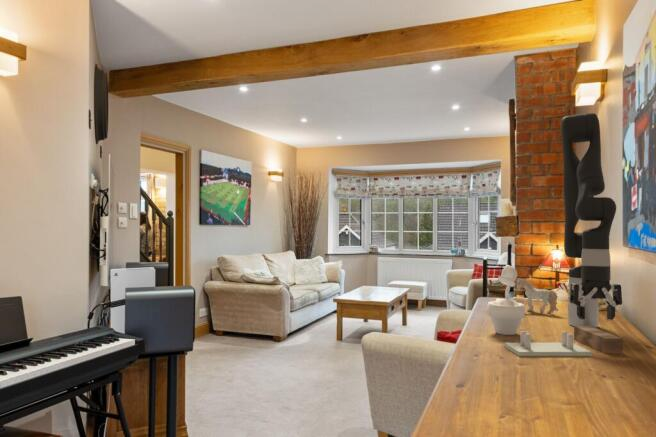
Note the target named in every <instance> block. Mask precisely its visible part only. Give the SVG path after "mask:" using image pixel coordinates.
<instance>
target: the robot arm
mask: <svg viewBox="0 0 656 437" xmlns="http://www.w3.org/2000/svg"><path fill="white" fill-rule="evenodd" d="M560 136H561V147H562V157H563V158H562V159H563V183H562V185H563V186H562V187H563V203H564V232H563V233H564V237H563V238H564V239H563V240H564V241H563V242H564V243H563V249H564V254H565V256H566V257H567V258H571V259H580V260H581V261H580V263H581V265H579V266H574V267H571V268H569V270H568V297H567V298H568V299H567V300H568V301H567V302H568V304H567V306H568V307H567V308H568V312H567V314H568V316H567V320H568V325H569V326H572V327H574V326H592V327H594V328H597V329H598V328H599V300H603V301H604V302H605V303H606V318H607V320H612V321H613V320H614V319H615V318H616V307H617V306H619V305H620V306H621V305H622V304H623V297H622V296H623V294H622V285H621V284H617V283H612V284H611V283H610V282H611V254H610V253H611V252H610V235H611V234H610V233H611V229H612V226H613V221H614V219H615V216H616V212H617V204H616V202H615V199H613V198H611V197H606V196H604V197H599V196H598V195H601V194H603V193H604V191H605V189H606V184H605V178H604V173H603V170H602V167H603V166H602V145H601V144H602V143H601V126H600V120H599V117H598V115H597V114H596V113H593V112H589V113H588V112H587V113H580V114H573V115H566V116H564V117H562V119H561V122H560ZM586 142H589V146H588V149H587V150H586V152H585V154H583V157H581V160H580V159H579V157H578V156H577V153H576V152H575V150H574V145H573V144H577V143H578V144H579V143H586ZM596 196H598V197H596ZM579 221H584V222H587V221H588V222H595V221H596V222H600V223H599V225H598V226H597V227H593V228H587V229H585V230H583V231H582V232H576V231H575V230H576V227H577V225H578V222H579ZM610 291H611V292H612V296H611V294H610Z"/></svg>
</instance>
